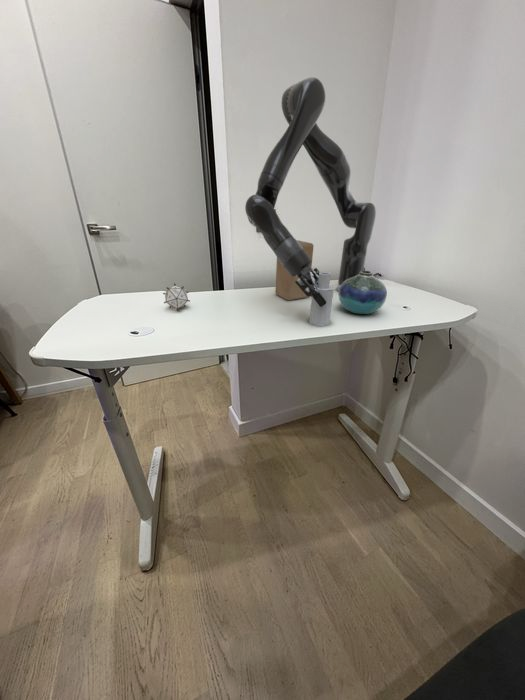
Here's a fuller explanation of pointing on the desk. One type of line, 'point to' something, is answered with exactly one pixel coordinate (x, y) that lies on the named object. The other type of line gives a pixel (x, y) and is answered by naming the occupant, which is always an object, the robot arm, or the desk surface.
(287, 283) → the wooden block
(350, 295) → the vase
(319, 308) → the flask
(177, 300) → the grey spiked polyhedron
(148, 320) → the desk surface
